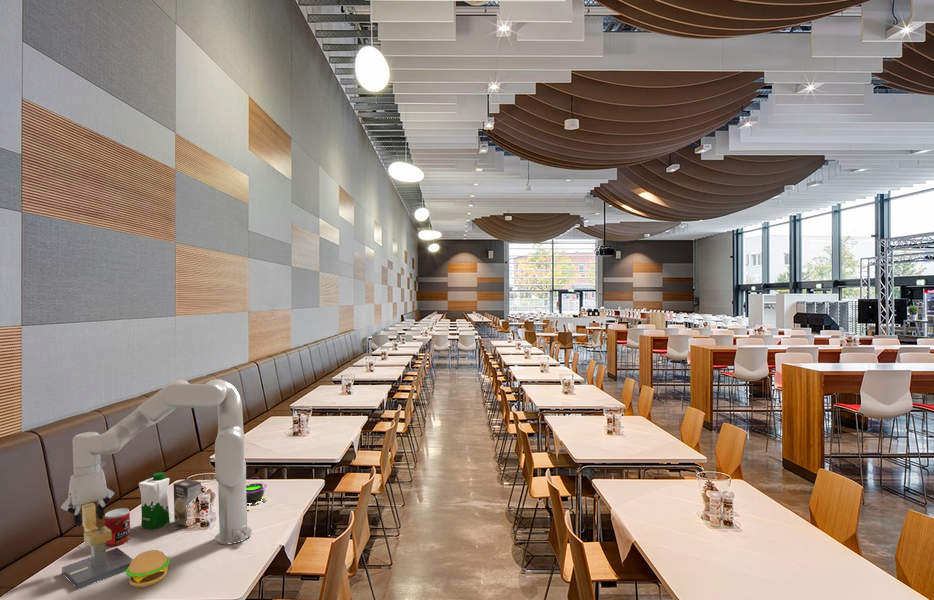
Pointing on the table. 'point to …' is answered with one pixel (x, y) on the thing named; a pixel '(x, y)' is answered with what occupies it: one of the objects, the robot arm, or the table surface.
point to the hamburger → (148, 568)
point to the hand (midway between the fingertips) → (89, 521)
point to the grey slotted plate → (97, 566)
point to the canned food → (118, 526)
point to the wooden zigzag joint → (93, 527)
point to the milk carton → (154, 501)
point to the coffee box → (184, 498)
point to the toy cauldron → (255, 493)
